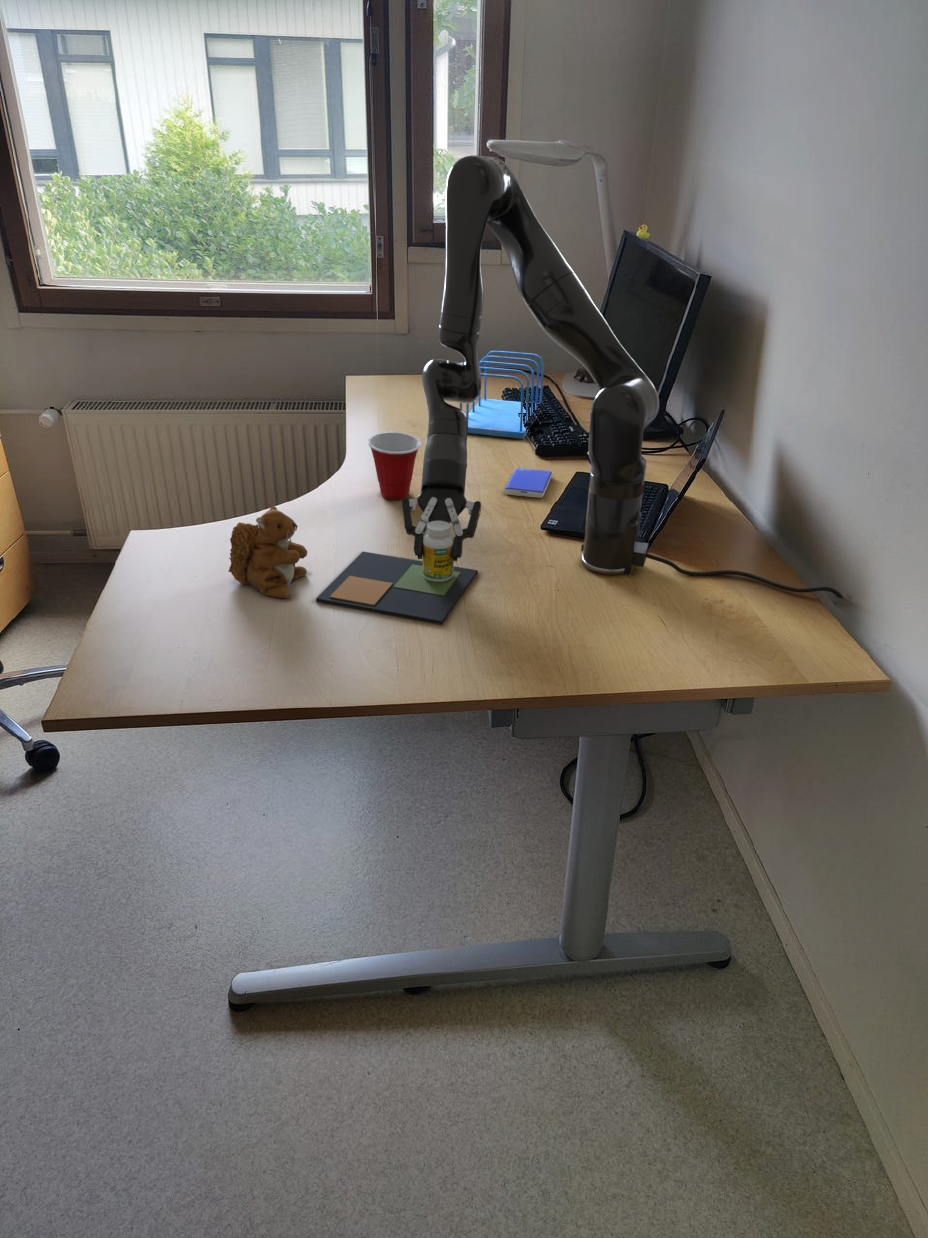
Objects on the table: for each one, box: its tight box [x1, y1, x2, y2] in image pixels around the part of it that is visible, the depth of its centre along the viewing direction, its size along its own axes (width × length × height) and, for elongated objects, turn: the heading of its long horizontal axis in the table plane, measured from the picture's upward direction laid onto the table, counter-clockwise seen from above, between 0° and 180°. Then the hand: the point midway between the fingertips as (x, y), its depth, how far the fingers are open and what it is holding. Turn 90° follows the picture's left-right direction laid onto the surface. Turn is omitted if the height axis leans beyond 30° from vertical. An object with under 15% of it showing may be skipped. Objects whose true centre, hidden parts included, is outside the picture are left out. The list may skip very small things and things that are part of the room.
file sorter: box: [459, 350, 545, 440], centre depth 228 cm, size 25×17×15 cm
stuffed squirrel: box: [227, 505, 308, 599], centre depth 149 cm, size 10×14×13 cm
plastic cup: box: [367, 431, 422, 501], centre depth 184 cm, size 11×11×12 cm
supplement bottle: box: [422, 521, 455, 582], centre depth 151 cm, size 5×5×10 cm
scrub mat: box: [315, 551, 479, 625], centre depth 151 cm, size 22×19×1 cm
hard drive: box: [504, 467, 553, 499], centre depth 192 cm, size 2×8×12 cm
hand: (437, 558), depth 150 cm, fingers closed on supplement bottle, 5 cm apart
